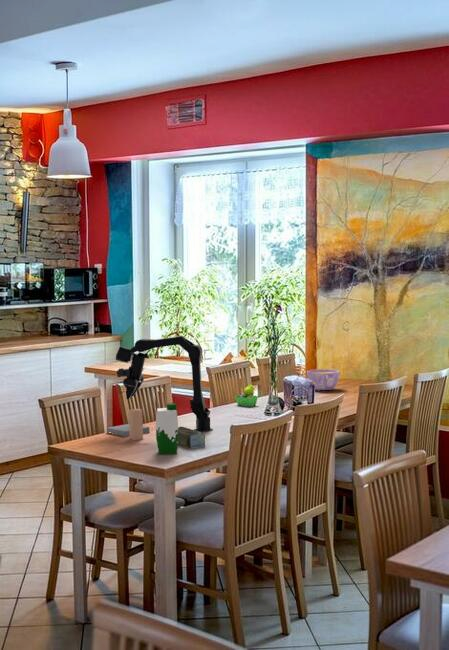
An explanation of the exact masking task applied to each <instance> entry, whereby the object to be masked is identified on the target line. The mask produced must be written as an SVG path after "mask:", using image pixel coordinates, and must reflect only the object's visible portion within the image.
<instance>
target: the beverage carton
mask: <svg viewBox="0 0 449 650" xmlns="http://www.w3.org/2000/svg"><path fill="white" fill-rule="evenodd" d="M178 446H180V447H184V448H186V449H190V450H192V449H199V448H205V447H206V433H204V432H201V431H196V430H194V429H191V428H188V427H186V426H178Z"/></svg>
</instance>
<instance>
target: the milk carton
mask: <svg viewBox="0 0 449 650" xmlns="http://www.w3.org/2000/svg"><path fill="white" fill-rule="evenodd" d="M177 406H178V405H177V403H173V402H171V403H166V407H161V408H160V407H158V408H156V415H155V416H156V417H155V418H156V419H155V436H156V437H155V438H156V446H157V450H158V453H159V454H158V455H177V454H178V446H179V445H178V427H179V420H178V407H177Z"/></svg>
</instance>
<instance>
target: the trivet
mask: <svg viewBox="0 0 449 650" xmlns="http://www.w3.org/2000/svg"><path fill="white" fill-rule="evenodd" d="M150 431H151V430H150V426H145V425H143V435H144V434H147V433H148V434H149V433H150ZM109 432H111V433H113V434H112V435H114V434H116V435H115V436H118V435H119V436H120V437H123V436H124V437H123V438H127V437H130V432H129V423H126V424H120V425H116V426H110V427H106V434H109Z"/></svg>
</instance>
